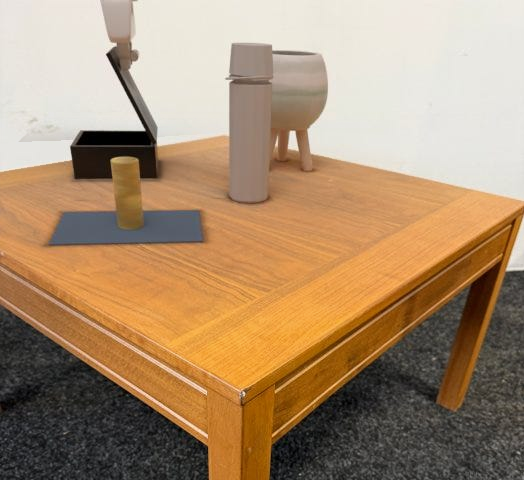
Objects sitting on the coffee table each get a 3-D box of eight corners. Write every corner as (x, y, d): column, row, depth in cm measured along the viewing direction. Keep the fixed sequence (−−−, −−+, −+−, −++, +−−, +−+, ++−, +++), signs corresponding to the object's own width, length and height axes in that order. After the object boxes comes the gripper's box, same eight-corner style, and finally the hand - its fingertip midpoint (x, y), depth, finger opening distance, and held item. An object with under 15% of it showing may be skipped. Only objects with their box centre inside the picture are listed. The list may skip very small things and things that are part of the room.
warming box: (75, 183, 106) (69, 146, 102) (84, 163, 118) (80, 130, 114) (157, 182, 108) (155, 146, 104) (158, 163, 120) (156, 130, 116)
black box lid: (105, 54, 95) (129, 42, 94) (112, 47, 107) (133, 36, 107) (152, 144, 104) (174, 134, 104) (154, 129, 116) (173, 119, 116)
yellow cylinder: (116, 230, 84) (109, 163, 78) (118, 221, 87) (111, 156, 82) (143, 229, 84) (137, 163, 79) (144, 220, 88) (139, 156, 82)
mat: (49, 247, 79) (48, 244, 78) (64, 215, 90) (64, 211, 90) (203, 244, 82) (203, 240, 81) (198, 213, 93) (198, 209, 93)
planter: (277, 155, 130) (282, 47, 118) (334, 168, 122) (346, 54, 109) (232, 167, 119) (232, 50, 107) (291, 183, 111) (299, 58, 99)
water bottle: (277, 201, 100) (285, 45, 87) (243, 208, 96) (245, 46, 83) (247, 188, 106) (250, 41, 93) (213, 195, 102) (211, 41, 89)
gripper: (104, -22, 103) (114, 61, 111) (92, -24, 87) (104, 74, 94) (138, -21, 104) (145, 61, 112) (132, -23, 87) (142, 73, 95)
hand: (127, 67), depth 103 cm, fingers closed on black box lid, 5 cm apart
